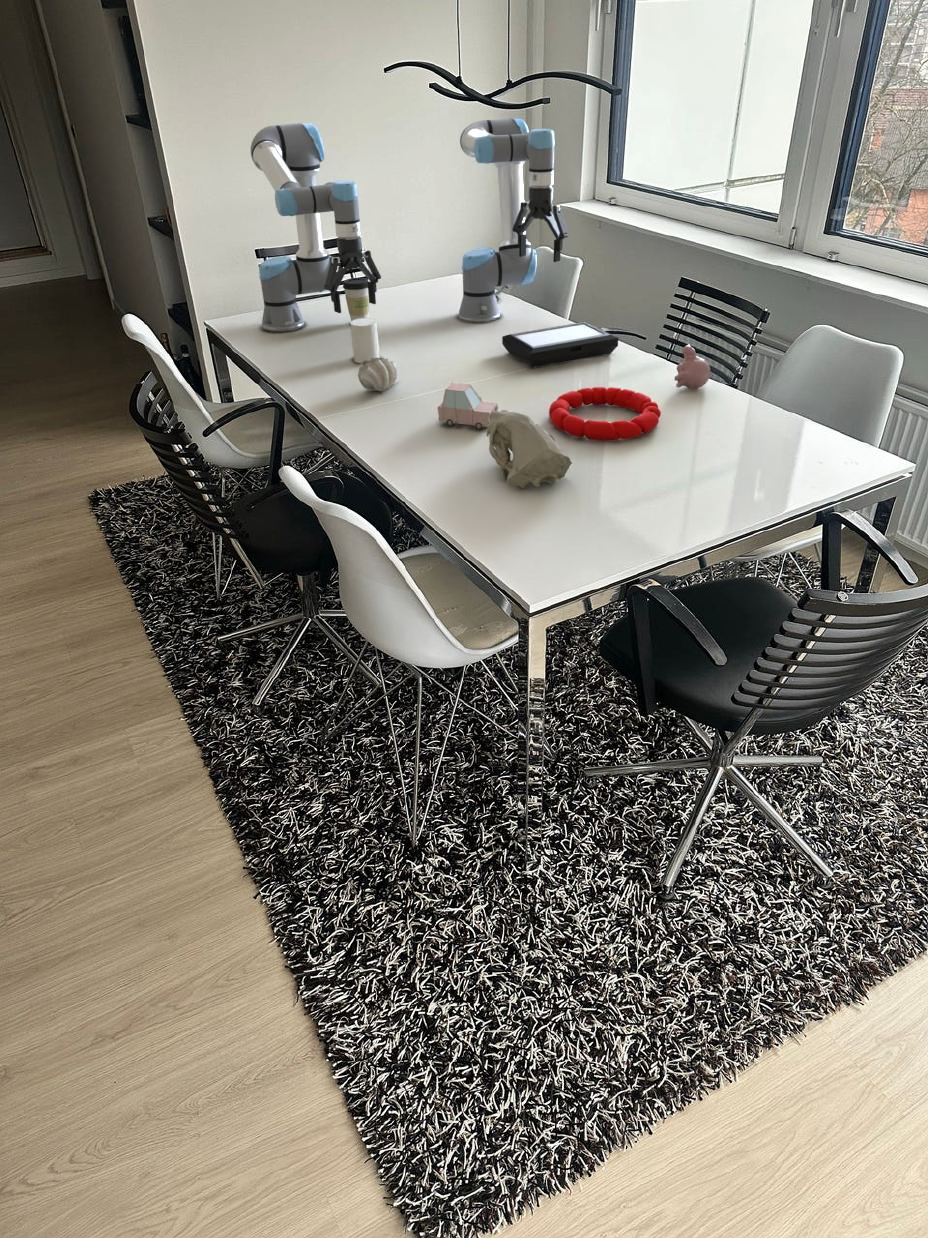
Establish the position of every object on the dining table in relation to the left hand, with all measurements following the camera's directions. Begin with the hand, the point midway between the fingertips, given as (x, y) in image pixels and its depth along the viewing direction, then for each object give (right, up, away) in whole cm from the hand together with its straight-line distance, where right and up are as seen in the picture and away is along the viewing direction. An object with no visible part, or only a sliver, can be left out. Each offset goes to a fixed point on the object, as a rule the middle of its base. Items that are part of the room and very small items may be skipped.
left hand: (355, 307), depth 285 cm
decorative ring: (+73, -46, -41) cm, 95 cm away
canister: (+3, -14, +9) cm, 17 cm away
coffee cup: (-3, +9, +43) cm, 44 cm away
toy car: (+36, -46, -39) cm, 70 cm away
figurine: (+102, -32, -22) cm, 108 cm away
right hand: (+59, +17, +2) cm, 61 cm away
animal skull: (+49, -63, -64) cm, 102 cm away
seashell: (+9, -31, -16) cm, 36 cm away
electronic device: (+66, -13, +8) cm, 68 cm away
